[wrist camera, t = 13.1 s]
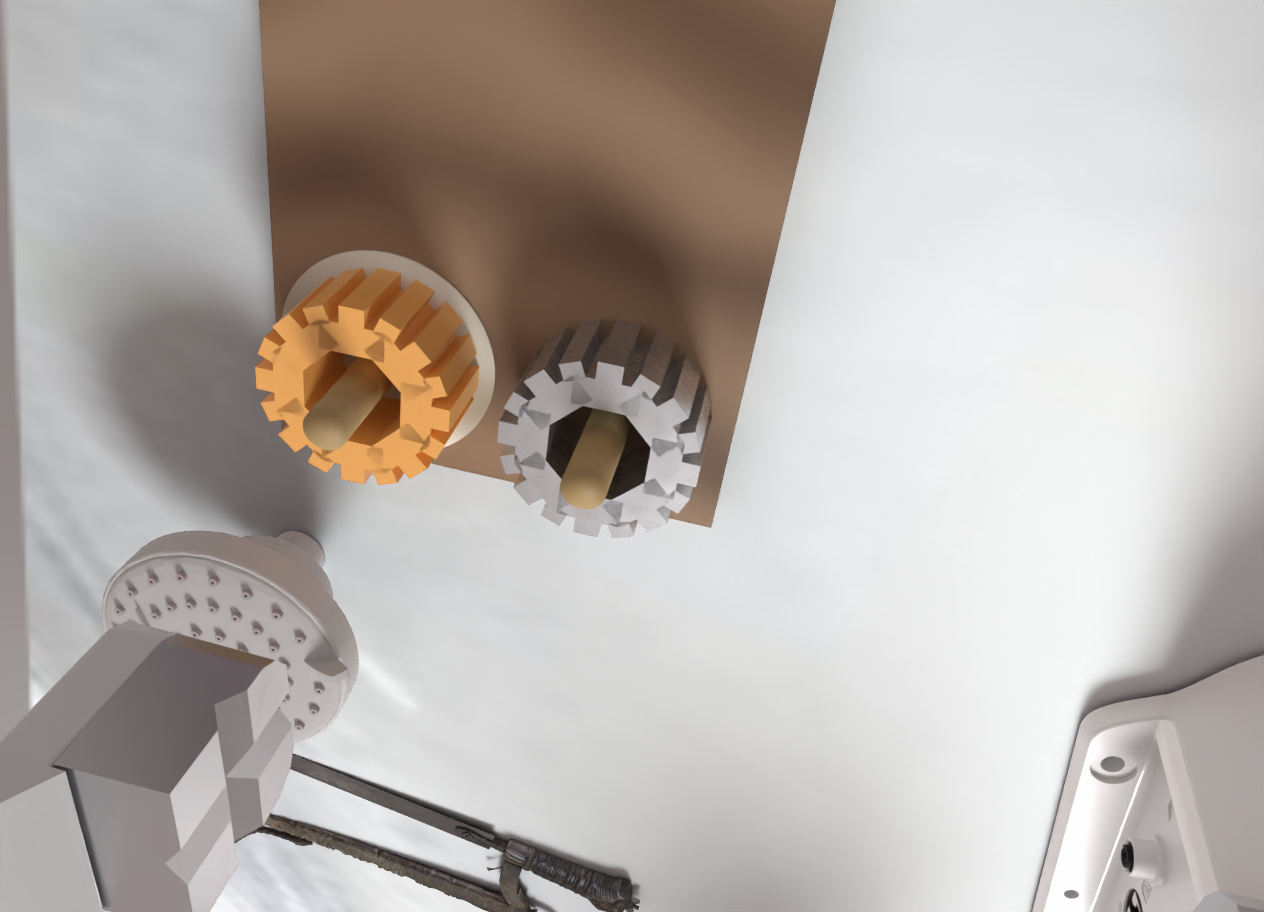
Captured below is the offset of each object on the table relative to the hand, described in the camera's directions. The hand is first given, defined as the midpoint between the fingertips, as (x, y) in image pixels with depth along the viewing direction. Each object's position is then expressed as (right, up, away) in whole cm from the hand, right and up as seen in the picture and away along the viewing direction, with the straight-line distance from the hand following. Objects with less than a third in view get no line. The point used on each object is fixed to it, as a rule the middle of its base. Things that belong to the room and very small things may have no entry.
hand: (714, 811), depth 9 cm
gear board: (-4, +11, +24) cm, 26 cm away
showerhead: (-14, -1, +34) cm, 37 cm away
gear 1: (-9, +7, +26) cm, 28 cm away
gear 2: (-1, +5, +25) cm, 26 cm away
